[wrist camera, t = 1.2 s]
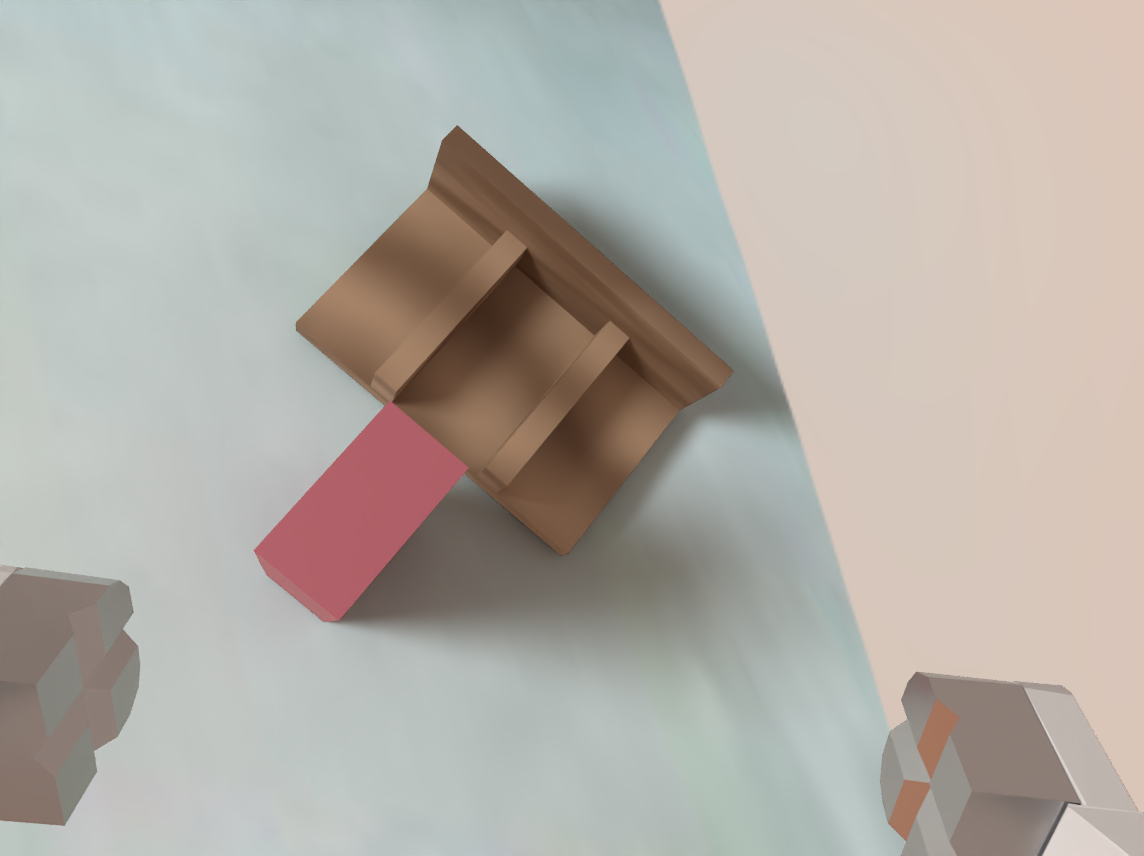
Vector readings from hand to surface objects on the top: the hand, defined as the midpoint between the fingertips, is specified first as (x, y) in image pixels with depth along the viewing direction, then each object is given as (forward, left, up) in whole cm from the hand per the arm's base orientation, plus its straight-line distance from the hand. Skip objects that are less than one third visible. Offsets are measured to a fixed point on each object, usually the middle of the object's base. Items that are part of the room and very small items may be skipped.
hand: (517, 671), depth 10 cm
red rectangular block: (-4, 0, -35) cm, 35 cm away
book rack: (-13, +6, -35) cm, 38 cm away
